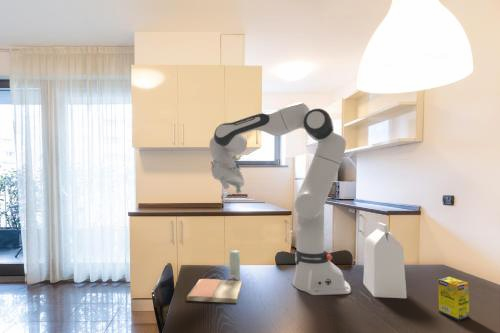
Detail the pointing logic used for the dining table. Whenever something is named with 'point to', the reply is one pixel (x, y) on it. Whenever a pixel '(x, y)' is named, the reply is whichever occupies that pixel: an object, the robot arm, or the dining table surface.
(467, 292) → the supplement box
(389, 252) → the milk
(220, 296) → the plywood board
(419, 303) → the dining table surface
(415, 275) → the dining table surface
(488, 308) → the dining table surface
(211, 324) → the dining table surface
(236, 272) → the grey-green rectangular block
